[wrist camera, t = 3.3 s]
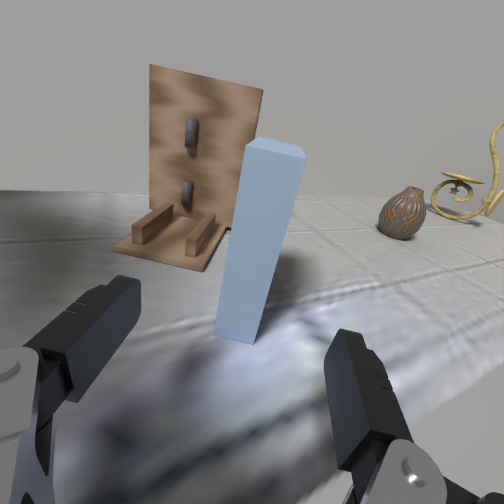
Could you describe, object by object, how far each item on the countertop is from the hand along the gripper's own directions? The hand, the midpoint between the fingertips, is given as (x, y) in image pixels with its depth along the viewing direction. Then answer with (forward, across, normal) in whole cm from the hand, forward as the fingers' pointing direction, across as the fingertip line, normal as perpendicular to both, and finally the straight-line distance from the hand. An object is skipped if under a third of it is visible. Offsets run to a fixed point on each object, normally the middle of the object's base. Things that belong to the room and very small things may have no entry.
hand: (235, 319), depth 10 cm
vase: (+38, -24, +7) cm, 46 cm away
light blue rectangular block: (+9, 0, +7) cm, 11 cm away
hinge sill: (+18, +9, +7) cm, 21 cm away
